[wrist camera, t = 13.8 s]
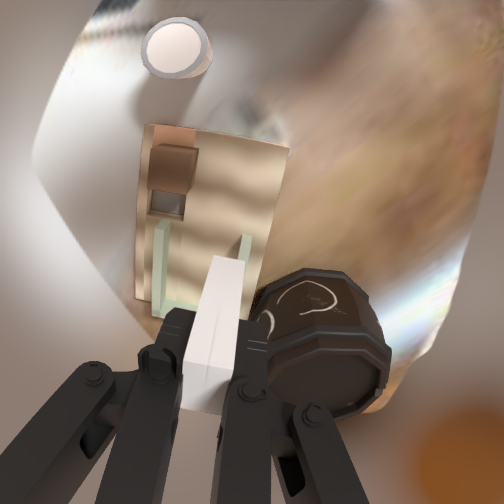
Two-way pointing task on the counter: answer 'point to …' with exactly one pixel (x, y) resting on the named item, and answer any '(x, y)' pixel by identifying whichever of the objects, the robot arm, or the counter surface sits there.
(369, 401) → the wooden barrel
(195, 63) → the shot glass
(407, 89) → the counter surface
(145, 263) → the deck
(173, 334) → the robot arm
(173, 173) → the block
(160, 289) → the cubby
